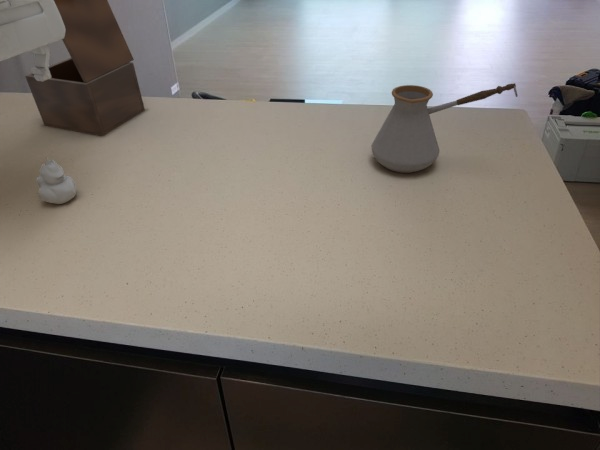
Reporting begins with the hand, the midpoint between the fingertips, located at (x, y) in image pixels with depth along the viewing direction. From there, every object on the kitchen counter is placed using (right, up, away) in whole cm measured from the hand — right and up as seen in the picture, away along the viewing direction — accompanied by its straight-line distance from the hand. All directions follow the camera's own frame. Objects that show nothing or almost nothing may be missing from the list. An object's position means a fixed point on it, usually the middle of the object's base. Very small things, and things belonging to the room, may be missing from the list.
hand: (17, 91), depth 63 cm
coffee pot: (+62, -8, +17) cm, 65 cm away
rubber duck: (0, -14, +11) cm, 18 cm away
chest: (-5, +5, +36) cm, 37 cm away
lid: (-1, +19, +23) cm, 29 cm away
